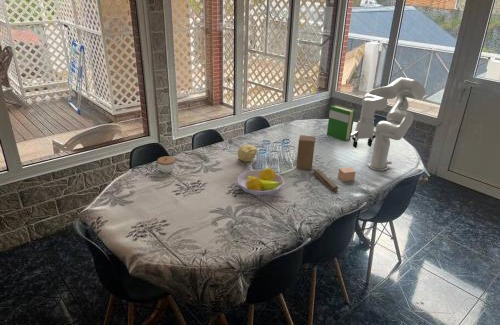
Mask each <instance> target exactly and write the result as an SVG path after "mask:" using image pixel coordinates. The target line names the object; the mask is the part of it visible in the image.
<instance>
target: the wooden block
mask: <svg viewBox="0 0 500 325" xmlns="http://www.w3.org/2000/svg"><path fill="white" fill-rule="evenodd" d="M315 145H316V137H315V136H313V135H312V136H311V135H306V134H305V135H303V134H301V135H299V138H298V146H297V153H296V154H297V155H296V163H295V164H296V165H295V167H296V169H301V170H309V171H311V170H312V169H313V162H314V155H315V154H314V152H315Z"/></svg>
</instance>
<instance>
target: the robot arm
mask: <svg viewBox="0 0 500 325" xmlns="http://www.w3.org/2000/svg"><path fill="white" fill-rule="evenodd" d="M425 95H426V88H425V86H424V85H423V84H422V83H421V82H420V81H418V80H416V79H414V78H413V79H412V78H407V77H398V78H396V79H394V80H393V81H392V82H390V83H389V84H388V85H386V86H382V87H377V88H373V89H371V90H369V91H368V92H367V93H365V95H364V96H363V97H362V100H361V103H362V104H361V111H360V116H359V117H360V118H359V120H358V121H357V123H356V127H355V129H354V132H352V133H351V139H352V147H353V148H355V149H357V148H358V141H359V140H362V139H368V140H367V146H368V147H369V148H370V147H371V148H372V145H373V148H372V154H371V159H370V161H369V162H368V163H367V167H368V168H369V169H371V170H374V171H378V172H383V171H384V170H385V171H387V170H388V167H389V166H388V165H392V164H393V161H391V160H390V161H388V157H389V151H390V147H391V141H390V140H394V141H401V139H402V138H403V137H404V136H405V135H406V133H407V132H408V131H409V129H410V127H411V126H412V124H413V122H414V114H413V113H412V112H410V111H407V110H408V109H409V106H410V105H409V100H408V98H409V99H414V100H421V99H423V98H424V96H425ZM395 98H396V101H395V103H394V104H393V105H392V107H391V109H389V111H388V113H387V115H386V120H379V122H377V123H376V125H375V122H374V121H375V120H376V116H375V112H376V111H383V110H385V109H386V108H387V106H388V100H393V99H395ZM373 141H374V144H372V143H373Z"/></svg>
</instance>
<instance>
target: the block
mask: <svg viewBox="0 0 500 325" xmlns="http://www.w3.org/2000/svg"><path fill="white" fill-rule="evenodd" d="M337 178H338V179H339V180H340V181H341V180H342V181H341V182H351V181H350V180H352V181H355V178H356V170H354V169H353V168H352V167H343V168H338V173H337Z"/></svg>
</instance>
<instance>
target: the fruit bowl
mask: <svg viewBox="0 0 500 325" xmlns="http://www.w3.org/2000/svg"><path fill="white" fill-rule="evenodd" d="M237 183H238V185H239V186H240V188H241V189H242V190H243V192H244V193H248V194H251V195H255V196H271V195H274V194H275V193H277V192H280V190H282V188H283V186H284V185H285V182H284V178H283V176H282V175H280V174H278V173H276V172H275V170H273V169H272V168H270V167H267V168H265V169H254V170H253V169H252V170H246V171H244V172H243V173H241V174H240V175H238V176H237Z"/></svg>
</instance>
